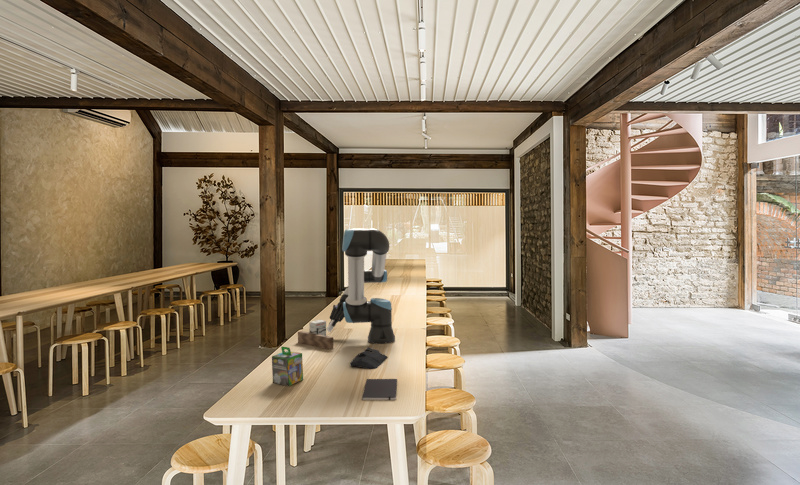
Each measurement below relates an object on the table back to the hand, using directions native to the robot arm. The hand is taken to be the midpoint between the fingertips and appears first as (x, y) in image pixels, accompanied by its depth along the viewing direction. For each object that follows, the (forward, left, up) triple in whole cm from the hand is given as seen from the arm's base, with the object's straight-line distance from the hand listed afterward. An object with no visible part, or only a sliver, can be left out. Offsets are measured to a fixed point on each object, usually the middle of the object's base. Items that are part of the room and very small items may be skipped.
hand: (328, 330), depth 275 cm
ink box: (-2, +10, -5) cm, 11 cm away
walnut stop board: (-5, +15, -5) cm, 17 cm away
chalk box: (-40, +63, -5) cm, 74 cm away
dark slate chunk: (-48, +22, -5) cm, 53 cm away
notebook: (-78, +48, -5) cm, 91 cm away
